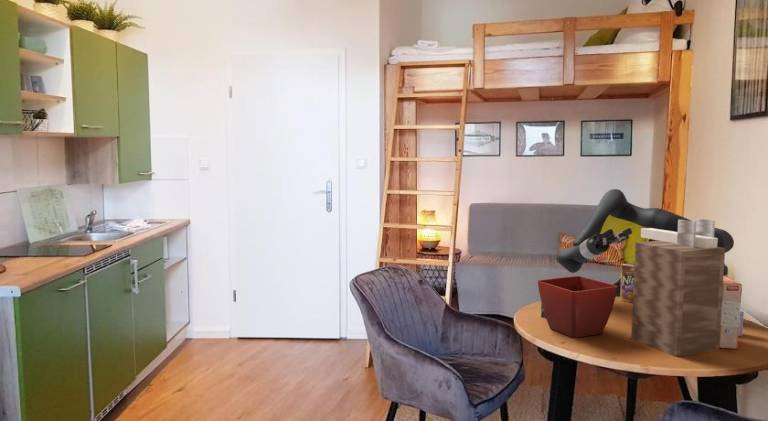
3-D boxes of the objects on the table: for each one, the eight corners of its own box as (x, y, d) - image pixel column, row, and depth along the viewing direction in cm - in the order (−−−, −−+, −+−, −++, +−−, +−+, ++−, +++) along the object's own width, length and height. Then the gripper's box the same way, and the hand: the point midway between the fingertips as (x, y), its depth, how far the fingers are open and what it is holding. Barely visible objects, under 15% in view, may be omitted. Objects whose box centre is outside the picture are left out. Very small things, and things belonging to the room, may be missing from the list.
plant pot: (534, 326, 204) (536, 279, 202) (577, 320, 212) (579, 275, 210) (572, 342, 187) (574, 291, 185) (617, 335, 194) (619, 286, 192)
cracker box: (739, 349, 180) (743, 283, 178) (718, 348, 181) (722, 282, 179) (721, 336, 194) (724, 274, 192) (701, 335, 195) (705, 273, 193)
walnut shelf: (631, 338, 191) (636, 218, 187) (671, 333, 197) (677, 216, 193) (676, 356, 174) (683, 224, 170) (718, 349, 180) (726, 222, 176)
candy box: (619, 300, 241) (620, 264, 239) (625, 299, 243) (626, 263, 242) (639, 305, 233) (641, 267, 232) (645, 303, 236) (647, 266, 234)
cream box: (640, 237, 200) (641, 228, 200) (650, 236, 202) (651, 228, 201) (706, 248, 176) (707, 238, 176) (717, 247, 177) (717, 238, 177)
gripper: (576, 238, 224) (602, 222, 210) (605, 236, 229) (633, 220, 215) (581, 256, 221) (609, 241, 207) (611, 254, 226) (640, 239, 212)
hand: (621, 230), depth 211 cm, fingers open, 8 cm apart
